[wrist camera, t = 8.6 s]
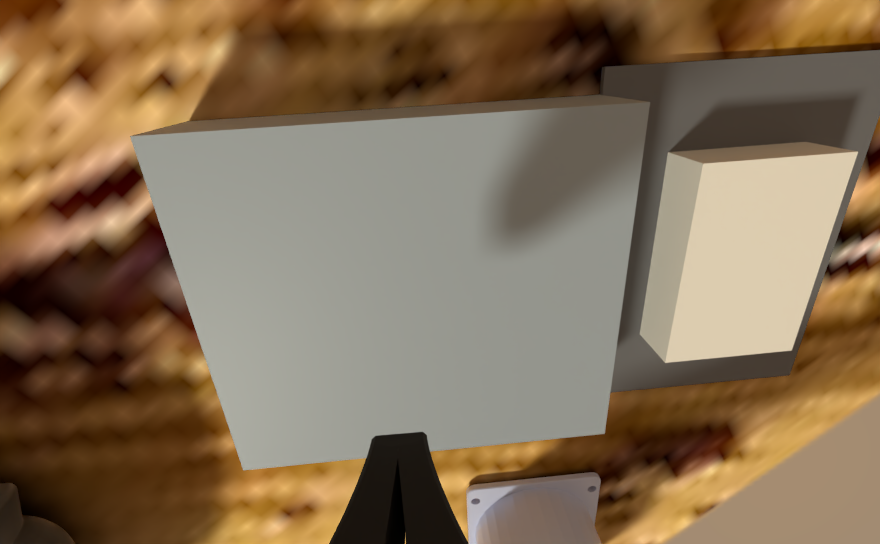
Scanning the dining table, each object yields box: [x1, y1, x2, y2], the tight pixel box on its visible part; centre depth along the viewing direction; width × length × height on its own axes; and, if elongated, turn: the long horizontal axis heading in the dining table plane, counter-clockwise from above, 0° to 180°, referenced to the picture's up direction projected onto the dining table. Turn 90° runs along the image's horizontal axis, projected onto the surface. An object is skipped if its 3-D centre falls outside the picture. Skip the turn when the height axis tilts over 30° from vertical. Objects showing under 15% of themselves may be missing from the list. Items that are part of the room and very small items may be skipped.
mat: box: [599, 50, 880, 392], centre depth 21 cm, size 16×12×1 cm
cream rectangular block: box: [640, 142, 858, 363], centre depth 20 cm, size 9×6×2 cm, turn 3°
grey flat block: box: [130, 95, 650, 470], centre depth 18 cm, size 14×16×4 cm
